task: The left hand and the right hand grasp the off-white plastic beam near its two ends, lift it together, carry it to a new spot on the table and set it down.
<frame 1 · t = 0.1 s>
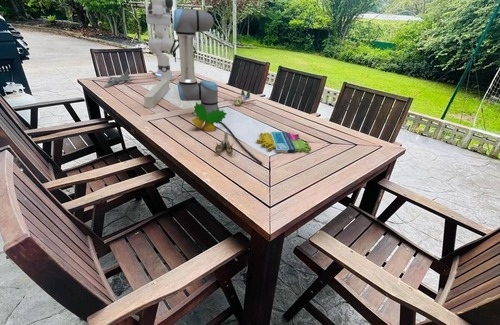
left hand: (159, 30, 225), 48 cm above the table, tool pointing down, fingers open, 8 cm apart
right hand: (184, 61, 211), 28 cm above the table, tool pointing down, fingers open, 13 cm apart
ornament: (209, 128, 165), on the table
jawbone: (224, 151, 138), on the table
beam: (158, 96, 218), on the table
airplane: (120, 83, 249), on the table
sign: (281, 143, 152), on the table
toy: (241, 101, 221), on the table
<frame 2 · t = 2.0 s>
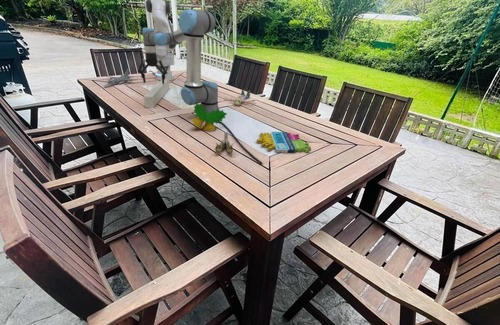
left hand: (163, 69, 229), 18 cm above the table, tool pointing down, fingers open, 8 cm apart
right hand: (154, 83, 194), 16 cm above the table, tool pointing down, fingers open, 13 cm apart
nothing on the table moved.
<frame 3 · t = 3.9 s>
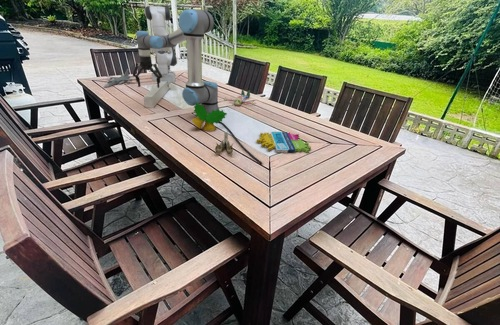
left hand: (164, 86, 237), 3 cm above the table, tool pointing down, fingers closed on beam, 5 cm apart
right hand: (149, 87, 191), 14 cm above the table, tool pointing down, fingers open, 13 cm apart
beam: (158, 96, 218), on the table, touching left hand
everything else where it was.
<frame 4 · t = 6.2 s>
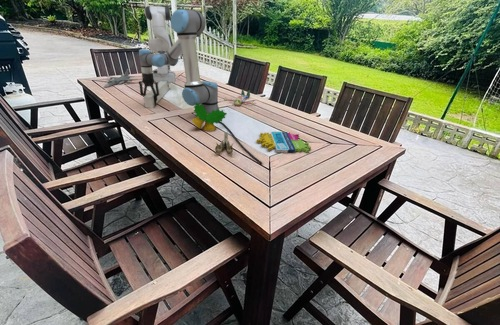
left hand: (164, 86, 237), 3 cm above the table, tool pointing down, fingers closed on beam, 5 cm apart
right hand: (151, 104, 197), 1 cm above the table, tool pointing down, fingers closed on beam, 6 cm apart
beam: (158, 96, 218), on the table, touching right hand, left hand
everything else where it was.
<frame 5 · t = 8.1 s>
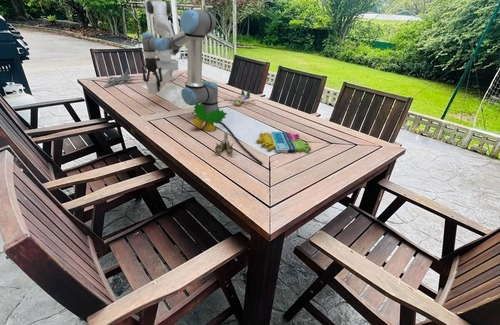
left hand: (167, 75, 233), 13 cm above the table, tool pointing down, fingers closed on beam, 5 cm apart
right hand: (154, 91, 193), 11 cm above the table, tool pointing down, fingers closed on beam, 6 cm apart
beam: (161, 84, 214), point 10 cm above the table, touching right hand, left hand
everything else where it was.
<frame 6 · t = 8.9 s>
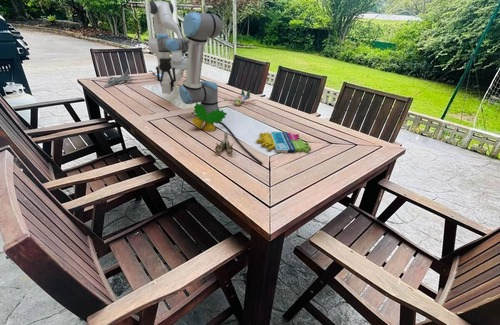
left hand: (178, 74, 236), 13 cm above the table, tool pointing down, fingers closed on beam, 5 cm apart
right hand: (167, 90, 197), 11 cm above the table, tool pointing down, fingers closed on beam, 6 cm apart
beam: (173, 84, 217), point 10 cm above the table, touching right hand, left hand
everything else where it was.
when the right hand's fingers open (1 cm above the table, at t = 11.9 s): beam stays where it is, held by the left hand.
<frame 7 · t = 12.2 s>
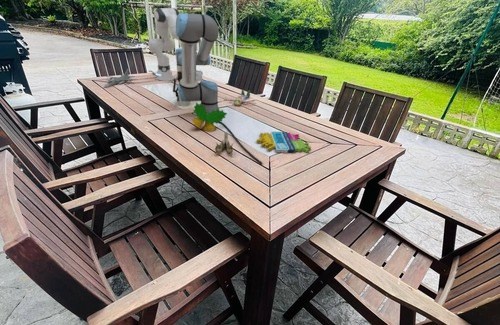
left hand: (191, 85, 245), 4 cm above the table, tool pointing down, fingers closed on beam, 6 cm apart
right hand: (184, 101, 205), 2 cm above the table, tool pointing down, fingers open, 8 cm apart
beam: (188, 95, 226), on the table, touching left hand
everything else where it was.
when the left hand's fingers open (4 cm above the table, at t = 12.2 s): beam stays where it is, on the table.
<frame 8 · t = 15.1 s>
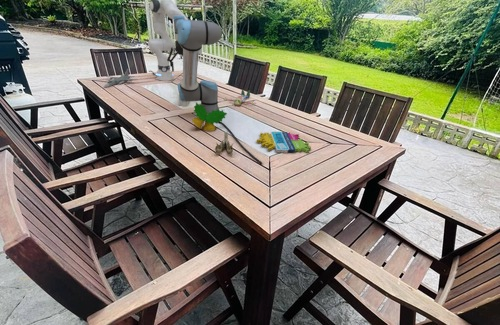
left hand: (190, 59, 234), 27 cm above the table, tool pointing down, fingers open, 8 cm apart
right hand: (182, 71, 194), 24 cm above the table, tool pointing down, fingers open, 13 cm apart
beam: (188, 95, 226), on the table
everything else where it was.
at the end: beam inside the target area (0.1 cm from its centre), on the table; beam tilted 0°; beam never tilted more than 1° during the clip; both hands held the beam at the same time; the left hand is holding nothing; the right hand is holding nothing; beam at rest at the end (0.0 cm/s) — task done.
